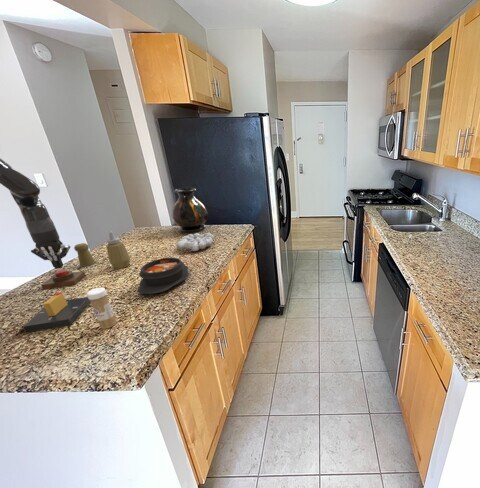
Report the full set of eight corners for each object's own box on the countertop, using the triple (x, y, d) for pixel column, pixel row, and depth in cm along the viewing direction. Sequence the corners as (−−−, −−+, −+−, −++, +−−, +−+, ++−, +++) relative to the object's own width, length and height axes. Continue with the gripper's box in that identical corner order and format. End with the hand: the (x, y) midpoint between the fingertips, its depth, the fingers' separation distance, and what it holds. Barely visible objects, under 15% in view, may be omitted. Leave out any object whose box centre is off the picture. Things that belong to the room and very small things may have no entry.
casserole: (159, 269, 125) (154, 253, 122) (198, 268, 126) (195, 252, 123) (125, 298, 102) (119, 280, 99) (174, 297, 103) (169, 278, 100)
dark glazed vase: (207, 233, 173) (199, 191, 162) (172, 236, 168) (161, 193, 157) (211, 223, 192) (205, 185, 182) (179, 226, 187) (171, 187, 176)
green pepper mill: (94, 265, 129) (86, 245, 125) (78, 268, 126) (70, 247, 122) (97, 260, 134) (89, 241, 130) (81, 263, 131) (73, 243, 127)
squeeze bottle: (107, 269, 125) (95, 234, 118) (123, 262, 132) (112, 228, 126) (120, 271, 123) (109, 235, 117) (136, 263, 131) (125, 229, 124)
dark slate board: (25, 332, 84) (22, 326, 83) (52, 308, 96) (49, 302, 95) (71, 325, 87) (68, 318, 86) (91, 302, 100) (88, 296, 99)
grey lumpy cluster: (172, 245, 153) (170, 235, 151) (208, 236, 166) (207, 228, 164) (182, 256, 138) (180, 246, 136) (221, 246, 151) (220, 237, 149)
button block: (43, 289, 108) (39, 281, 107) (55, 279, 116) (52, 271, 115) (75, 285, 111) (72, 277, 110) (85, 275, 119) (82, 267, 118)
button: (54, 277, 110) (53, 273, 110) (59, 273, 113) (58, 270, 113) (65, 276, 111) (63, 272, 111) (69, 272, 115) (68, 268, 114)
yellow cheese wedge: (55, 315, 88) (48, 302, 86) (48, 316, 88) (42, 303, 86) (67, 304, 94) (62, 292, 92) (61, 305, 94) (56, 292, 92)
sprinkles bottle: (96, 329, 85) (82, 294, 80) (107, 320, 90) (94, 286, 84) (110, 329, 85) (96, 294, 80) (120, 320, 90) (108, 287, 84)
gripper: (14, 234, 100) (33, 273, 106) (55, 231, 102) (71, 270, 109) (30, 228, 106) (47, 265, 113) (67, 225, 109) (82, 262, 116)
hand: (59, 267), depth 111 cm, fingers closed
